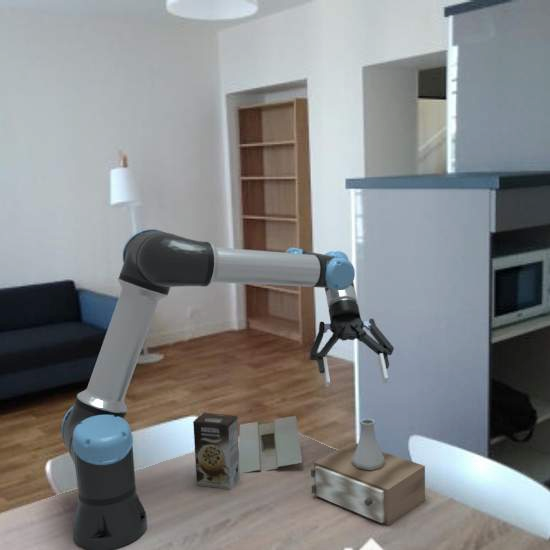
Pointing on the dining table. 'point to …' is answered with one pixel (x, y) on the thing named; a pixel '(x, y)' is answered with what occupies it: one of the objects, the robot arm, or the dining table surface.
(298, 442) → the grooved block with hole
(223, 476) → the coffee box
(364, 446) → the flask
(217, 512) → the dining table surface
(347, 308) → the robot arm
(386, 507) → the cabinet
